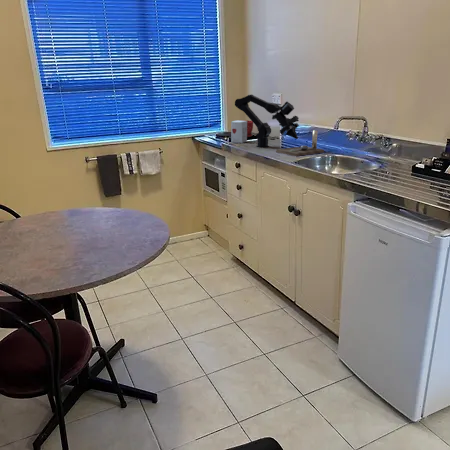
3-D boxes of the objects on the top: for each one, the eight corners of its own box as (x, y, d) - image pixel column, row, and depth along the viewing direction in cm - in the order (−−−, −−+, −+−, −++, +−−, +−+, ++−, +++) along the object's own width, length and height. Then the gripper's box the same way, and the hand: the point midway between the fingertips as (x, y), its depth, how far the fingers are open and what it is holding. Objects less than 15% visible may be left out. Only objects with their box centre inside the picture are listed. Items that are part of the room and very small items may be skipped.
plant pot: (233, 136, 341) (233, 120, 337) (248, 135, 346) (248, 120, 342) (241, 138, 330) (241, 122, 326) (255, 137, 335) (256, 121, 331)
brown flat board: (295, 156, 254) (295, 153, 254) (276, 152, 269) (276, 149, 268) (324, 152, 267) (324, 149, 266) (304, 148, 281) (304, 145, 280)
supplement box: (230, 142, 310) (230, 121, 305) (236, 140, 317) (236, 120, 312) (242, 143, 306) (242, 121, 301) (247, 141, 313) (247, 120, 308)
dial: (293, 151, 260) (294, 132, 256) (289, 149, 263) (289, 132, 260) (318, 148, 267) (319, 130, 264) (313, 147, 271) (314, 130, 268)
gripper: (285, 112, 264) (300, 132, 262) (297, 110, 279) (311, 128, 277) (273, 124, 270) (288, 143, 268) (285, 122, 285) (299, 139, 283)
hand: (297, 138), depth 274 cm, fingers closed
